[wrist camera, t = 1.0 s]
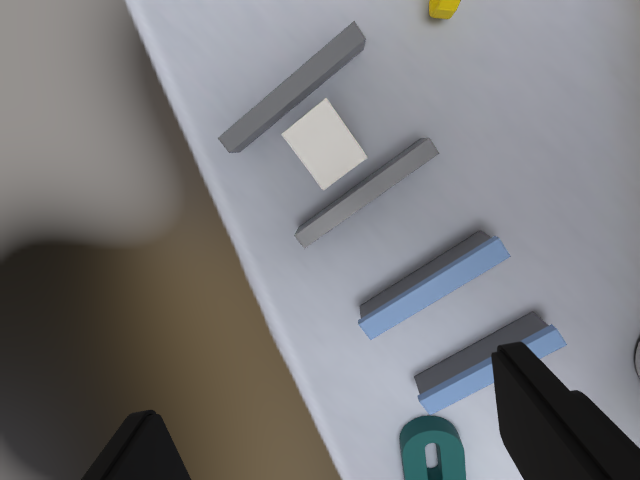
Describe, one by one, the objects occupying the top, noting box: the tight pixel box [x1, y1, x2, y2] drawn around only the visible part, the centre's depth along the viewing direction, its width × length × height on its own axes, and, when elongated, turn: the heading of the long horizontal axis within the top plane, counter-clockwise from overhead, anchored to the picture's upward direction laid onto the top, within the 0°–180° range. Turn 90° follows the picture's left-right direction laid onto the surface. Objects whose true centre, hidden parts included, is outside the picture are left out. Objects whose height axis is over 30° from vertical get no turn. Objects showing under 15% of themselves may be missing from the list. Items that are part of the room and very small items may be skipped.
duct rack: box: [218, 21, 567, 415], centre depth 30 cm, size 14×33×4 cm, turn 37°
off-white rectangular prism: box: [282, 98, 368, 190], centre depth 27 cm, size 4×5×7 cm
